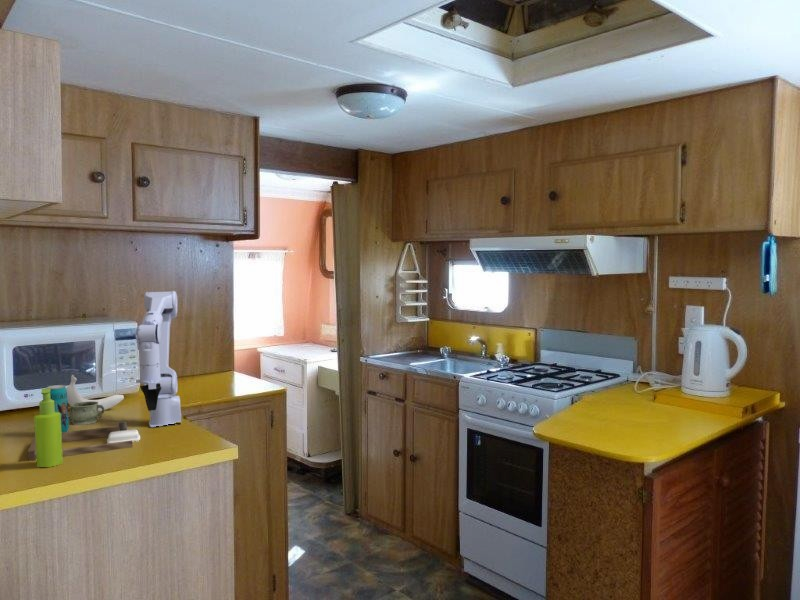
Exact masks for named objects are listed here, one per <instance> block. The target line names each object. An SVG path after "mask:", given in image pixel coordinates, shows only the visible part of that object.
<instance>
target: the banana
mask: <svg viewBox="0 0 800 600" xmlns="http://www.w3.org/2000/svg"><path fill="white" fill-rule="evenodd" d="M77 381H78V379H77V377H75V375H74V374H71V377H70V383H69V384H68V385H67V386H66V389H67V400H68V405H69V406H70V405H71V404H74V403H79V402H89V401H94V402H98V404H97V405H102V406H103V407H104V411H106V410H108V409H110V408H113V407H115V406H116V405H118V404H120V403H121V402H122V401H123V400H124V399H125V397H124V395H123V394H114V395H110V396H108V397H104V398H101V399H100V398H99V399H87V398H85V397H83V396H81V394H80V393H79V392H78V389H77V388H76V382H77ZM98 411H99V412H102V408H98Z"/></svg>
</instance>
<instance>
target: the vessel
mask: <svg viewBox="0 0 800 600" xmlns="http://www.w3.org/2000/svg"><path fill="white" fill-rule="evenodd" d="M97 404H98V402H94V401H89V402H79V403H74V404H71V405H70V404H69V407H68V412H70V415H69V416H68V421H69V423H70V422H72V420H73V422H72V425H74V424H76V425H75V426H81V425H82V426H83V425H89V424H94V423H96V422H98V419H102V418H103V414H104V413H105V410H104V407H103V406H102V405H97ZM98 408H102V411H98ZM97 417H98V419H97Z"/></svg>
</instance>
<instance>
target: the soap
mask: <svg viewBox="0 0 800 600" xmlns="http://www.w3.org/2000/svg"><path fill="white" fill-rule="evenodd" d="M139 433H140V432H139V431H138V430H137V429H133V428H132V429H127V430H124V431H115V432H111V433H110V434H109V436H107V437H108V438H107V439H106V444H107V443H115V442H123V441H131V440H132V443H135V442H134V441H136V442H140V441H141V435H140V434H139ZM139 440H140V441H139Z"/></svg>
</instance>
